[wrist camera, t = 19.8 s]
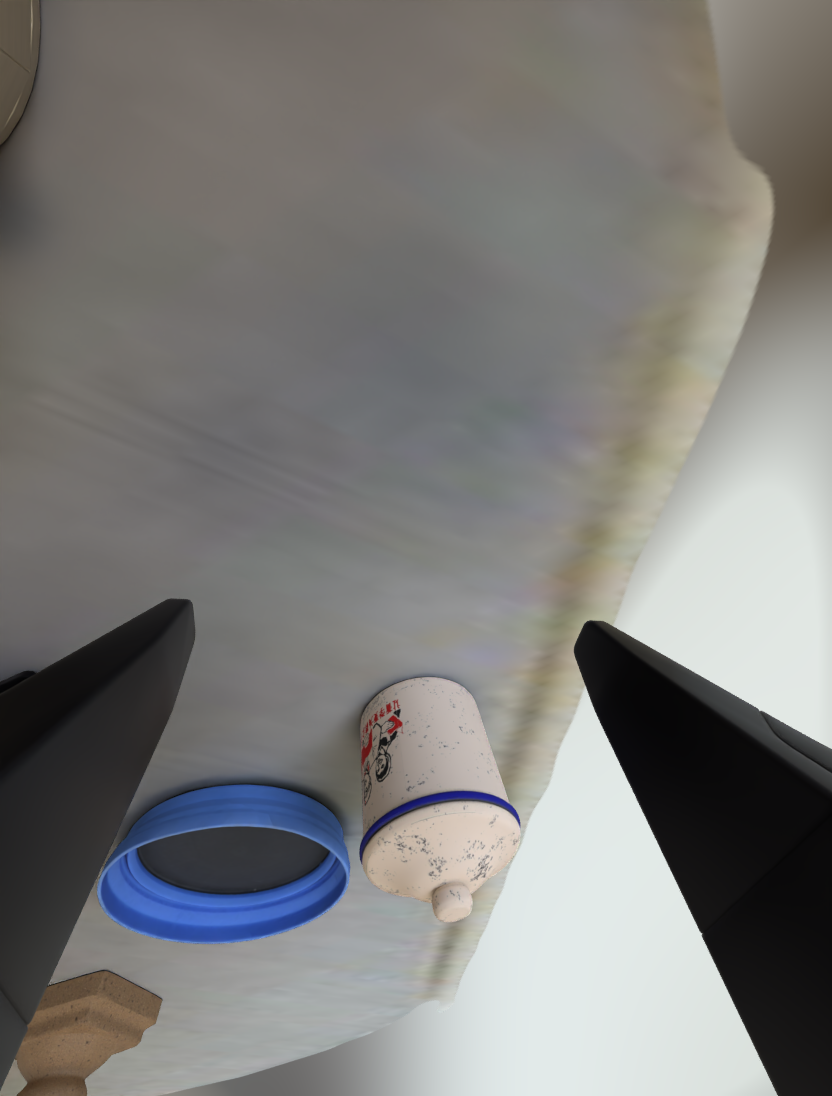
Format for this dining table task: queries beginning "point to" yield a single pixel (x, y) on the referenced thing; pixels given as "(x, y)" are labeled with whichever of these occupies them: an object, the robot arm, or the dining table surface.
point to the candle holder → (82, 1031)
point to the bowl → (226, 866)
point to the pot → (17, 59)
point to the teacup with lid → (432, 797)
